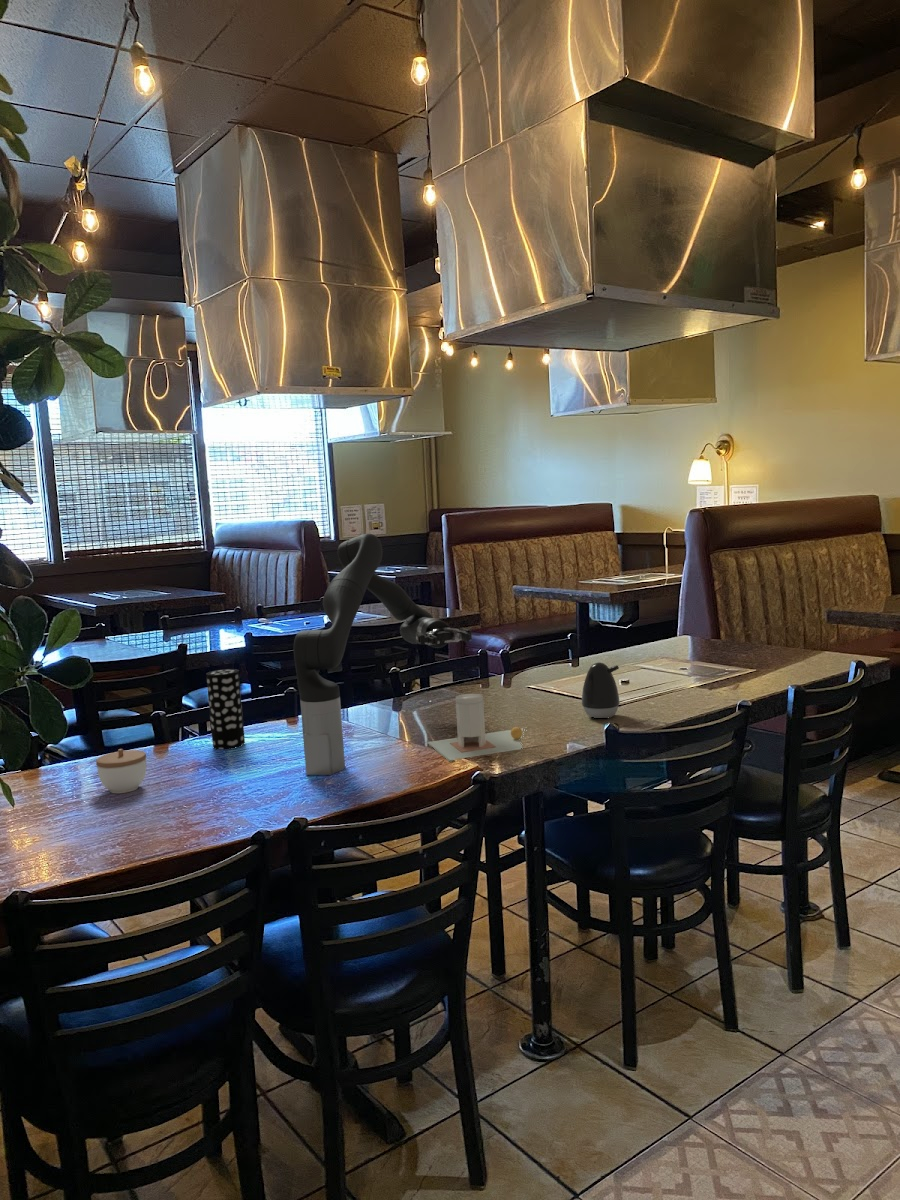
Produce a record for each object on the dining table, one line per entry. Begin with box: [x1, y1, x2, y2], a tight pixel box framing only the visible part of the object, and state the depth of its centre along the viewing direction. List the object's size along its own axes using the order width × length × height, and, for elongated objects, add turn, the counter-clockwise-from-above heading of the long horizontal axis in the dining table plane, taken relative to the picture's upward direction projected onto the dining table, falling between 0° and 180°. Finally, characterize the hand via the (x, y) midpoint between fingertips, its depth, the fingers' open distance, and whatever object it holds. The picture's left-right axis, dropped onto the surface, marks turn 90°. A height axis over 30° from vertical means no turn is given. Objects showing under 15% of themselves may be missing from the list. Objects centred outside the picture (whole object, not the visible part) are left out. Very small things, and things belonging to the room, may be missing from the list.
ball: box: [510, 726, 523, 739], centre depth 220 cm, size 3×3×3 cm
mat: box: [427, 727, 527, 763], centre depth 219 cm, size 30×18×1 cm, turn 108°
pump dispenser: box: [581, 662, 620, 719], centre depth 238 cm, size 10×10×15 cm
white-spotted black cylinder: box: [206, 668, 246, 750], centre depth 232 cm, size 8×8×20 cm
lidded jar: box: [95, 748, 147, 794], centre depth 199 cm, size 11×11×9 cm
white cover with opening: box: [455, 693, 486, 748], centre depth 216 cm, size 7×7×12 cm
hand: (452, 639), depth 224 cm, fingers open, 8 cm apart
